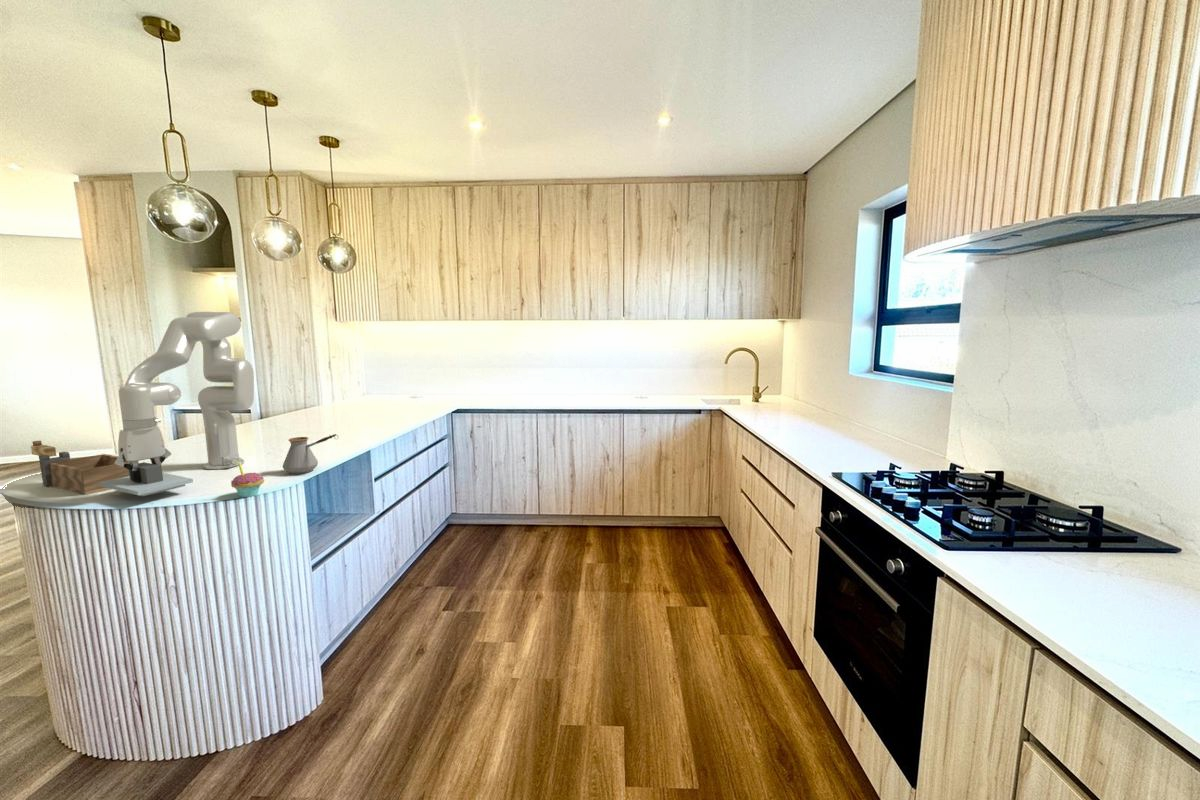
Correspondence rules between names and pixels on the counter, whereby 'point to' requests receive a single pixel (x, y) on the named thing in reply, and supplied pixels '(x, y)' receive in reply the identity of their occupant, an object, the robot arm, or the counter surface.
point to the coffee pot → (301, 456)
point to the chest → (80, 472)
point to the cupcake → (247, 483)
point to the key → (42, 449)
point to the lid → (147, 481)
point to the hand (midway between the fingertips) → (146, 479)
